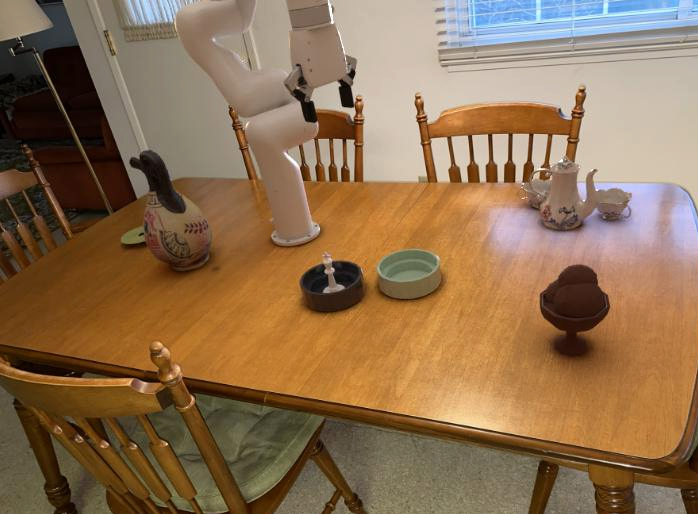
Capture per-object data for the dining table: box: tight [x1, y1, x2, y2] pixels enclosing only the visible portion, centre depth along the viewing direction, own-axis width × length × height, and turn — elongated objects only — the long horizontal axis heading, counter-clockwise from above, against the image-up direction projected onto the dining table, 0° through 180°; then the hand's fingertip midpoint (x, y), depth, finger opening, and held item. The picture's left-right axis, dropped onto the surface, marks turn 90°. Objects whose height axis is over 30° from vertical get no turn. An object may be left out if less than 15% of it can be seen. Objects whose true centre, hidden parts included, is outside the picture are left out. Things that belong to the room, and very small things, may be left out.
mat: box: [120, 225, 146, 245], centre depth 154 cm, size 11×11×2 cm
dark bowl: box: [299, 260, 366, 312], centre depth 116 cm, size 13×13×4 cm
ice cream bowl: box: [539, 263, 611, 357], centre depth 90 cm, size 11×11×15 cm
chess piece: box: [321, 251, 345, 293], centre depth 114 cm, size 5×5×10 cm
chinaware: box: [516, 155, 633, 231], centre depth 128 cm, size 28×17×17 cm, turn 58°
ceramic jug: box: [128, 149, 213, 272], centre depth 130 cm, size 17×15×30 cm
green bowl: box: [375, 248, 442, 300], centre depth 116 cm, size 13×13×4 cm
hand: (330, 114), depth 108 cm, fingers open, 9 cm apart
